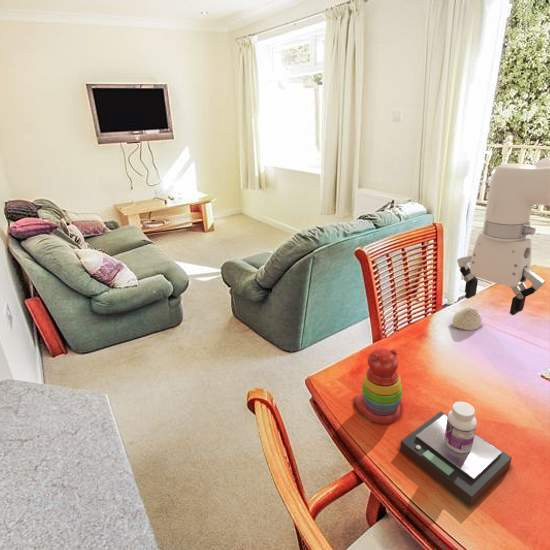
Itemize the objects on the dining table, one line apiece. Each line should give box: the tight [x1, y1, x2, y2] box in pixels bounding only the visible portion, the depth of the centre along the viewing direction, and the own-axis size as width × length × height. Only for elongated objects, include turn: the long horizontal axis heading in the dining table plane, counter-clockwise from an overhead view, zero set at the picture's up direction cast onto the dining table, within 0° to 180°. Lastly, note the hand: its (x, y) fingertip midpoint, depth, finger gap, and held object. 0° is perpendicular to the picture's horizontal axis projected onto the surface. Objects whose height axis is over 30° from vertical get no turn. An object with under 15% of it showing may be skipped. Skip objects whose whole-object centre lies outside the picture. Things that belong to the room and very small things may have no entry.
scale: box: [399, 410, 513, 508], centre depth 79 cm, size 16×14×3 cm
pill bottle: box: [445, 401, 478, 453], centre depth 76 cm, size 5×5×10 cm
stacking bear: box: [354, 347, 403, 425], centre depth 90 cm, size 11×10×18 cm
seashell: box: [452, 306, 483, 331], centre depth 123 cm, size 8×8×8 cm
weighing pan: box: [416, 413, 502, 481], centre depth 78 cm, size 13×10×1 cm
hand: (491, 304), depth 81 cm, fingers open, 9 cm apart
